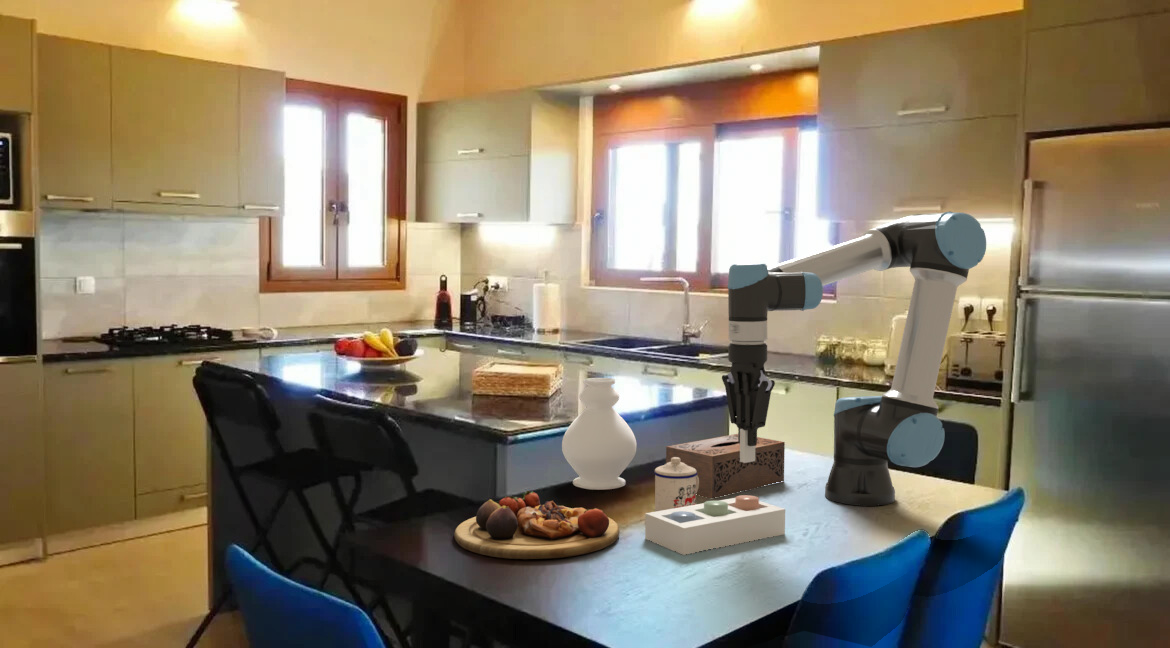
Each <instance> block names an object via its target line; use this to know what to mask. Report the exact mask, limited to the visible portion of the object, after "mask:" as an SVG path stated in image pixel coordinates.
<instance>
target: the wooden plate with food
mask: <svg viewBox="0 0 1170 648" xmlns="http://www.w3.org/2000/svg"><path fill="white" fill-rule="evenodd" d="M520 496H521V497H519V496H514V495H512V496H505V495H504V496H503V497H502V499H500V500H498V502H497V501H494V500H493V499H490V498H489V500H487V501H485V502H484V503H483V504H482V505H481V506H480V507H479V508H478V510H477V512H476V514H475V515H476V516H474V517H471V518H468V519H467V520H464V521H463V522H461V523H460V524H459V525H458V526H457V527H456V528H455V529H454V540H455V542H456V543H457V544H458V546H460V547H461V548H462V549H464V550H467V551H470V552H471V553H476V554H477V555H478V554H479V555H484V556H488V557H494V558H500V559H514V560H547V559H549V560H550V559H560V558H569V557H575V556H580V555H581V556H582V555H585V554H590V553H594V552H597V551H599V550H602V549H604V548H607V547H608V546H610V545H612V544H614V543H615V542H616V541H617V540H618V539H619V537H620V531H621V530H620V526H619V525H618V523H617V522H616V521H614V519H612V518H611V517H609V516H607V515H606V513H604V511H603V509H599V508H594V507H593V508H591V509H589V508H588V509H586V508H584V507H574V508H573V507H572V508H571V507H567V506H564V505H558V504H556V503H555V502H554V500H550V501H549V500H547V501H545V503H544V504H541V502H540V497H539V495H538V493H536V492H534V490H532V491H530V490H527V491H525V492H523V493H521V495H520Z"/></svg>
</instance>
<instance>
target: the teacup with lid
mask: <svg viewBox="0 0 1170 648" xmlns="http://www.w3.org/2000/svg"><path fill="white" fill-rule="evenodd" d="M653 474H654V475H655V476H654V493H655V494H654V512H656V511H662V510H668V509H673V508H679V507H685V506H691V505H696V504H697V503H696V502H697V500H696V499H697V495H696V493H697V491H698V487H699V478H698V476H697V471H696V469H695V468H693V467H690V466H687V465H686V464H685V463H682V462H680V458H678V457H673V458H671V462H668V463H666V462H665V463H664V465H659V466H657V467H656V468H655V469H654V472H653Z"/></svg>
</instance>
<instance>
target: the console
mask: <svg viewBox="0 0 1170 648" xmlns="http://www.w3.org/2000/svg"><path fill="white" fill-rule="evenodd" d="M718 501H723V502H726V503H728V514H727V515H722V516H716V517H713V516H710V515H707V514H704V502H703V503H698V504H697V503H696V505H691V506H685V507H679V508H673V509H668V510H662V511H651V512H645V514H644V515H645V517H644V518H645V519H644V521H645V523H644V524H645V525H644V530H645V531H644V532H645V533H644V534H645V535H644V537H645V538H644V540H647V541H649V540H650V541H649V542H651V541H652V542H651V543H654V544H656V543H657V545H658V544H659V545H658V546H662V547H663V548H665V549H669V550H670V551H673V552H675V551H676V552H675V553H678V554H680V555H682V556H687V555H690V553H692V554H696V553H695V552H697V553H700V552H699V551H702V552H704V551H703V550H706V551H709V550H708V549H711V550H714V549H713V548H716V549H719V547H721V548H725V546H726V547H730V546H729V545H731V546H735V545H740V544H745V543H749V541H750V542H754V540H755V541H758V539H760V540H763V539H762V538H764V539H768V538H767V537H769V538H774V537H779V536H783V535H786V530H785V529H786V508H783V507H779V506H777V505H773V504H771V503H767V502H764V501H761V500H759V509H754V510H749V511H744V510H741V509H738V508H735V497H731V498H727V499H721V500H718ZM679 511H685V512H692V513H694V514H695V521H689V522H684V523H679V522H676V521H674V520H671V513H673V512H679ZM773 536H774V537H773ZM744 542H745V543H744ZM739 543H740V544H739ZM734 544H735V545H734ZM686 554H687V555H686Z"/></svg>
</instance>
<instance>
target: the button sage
mask: <svg viewBox="0 0 1170 648" xmlns="http://www.w3.org/2000/svg"><path fill="white" fill-rule="evenodd" d="M703 503H704V514H707V515H710V516H713V517H716V516H722V515H727V514H728V503H726V502H723V501H719V500H706V501H704V502H703Z"/></svg>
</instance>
